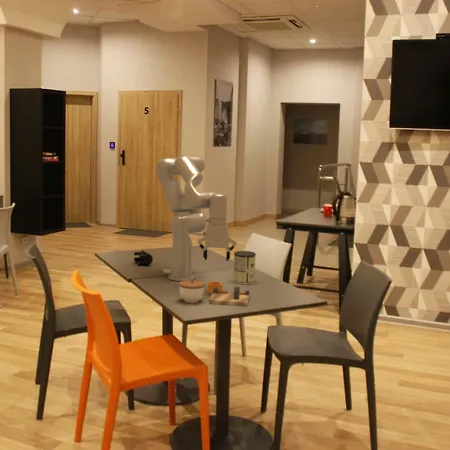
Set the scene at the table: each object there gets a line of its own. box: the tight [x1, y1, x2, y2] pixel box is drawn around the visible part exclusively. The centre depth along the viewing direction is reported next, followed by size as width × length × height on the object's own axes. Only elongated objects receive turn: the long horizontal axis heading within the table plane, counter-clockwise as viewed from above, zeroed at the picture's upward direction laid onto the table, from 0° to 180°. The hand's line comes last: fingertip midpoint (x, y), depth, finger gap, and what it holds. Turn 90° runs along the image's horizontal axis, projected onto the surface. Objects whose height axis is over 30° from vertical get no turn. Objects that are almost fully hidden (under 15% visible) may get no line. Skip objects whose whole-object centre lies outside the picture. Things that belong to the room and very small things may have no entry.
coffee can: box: [233, 250, 256, 285], centre depth 306 cm, size 10×10×14 cm
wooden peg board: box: [208, 286, 251, 307], centre depth 272 cm, size 16×14×6 cm
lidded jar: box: [178, 279, 206, 304], centre depth 269 cm, size 11×11×9 cm
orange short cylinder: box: [207, 281, 224, 295], centre depth 285 cm, size 6×6×4 cm
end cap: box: [133, 249, 154, 267], centre depth 335 cm, size 10×7×7 cm
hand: (216, 259), depth 283 cm, fingers open, 9 cm apart
